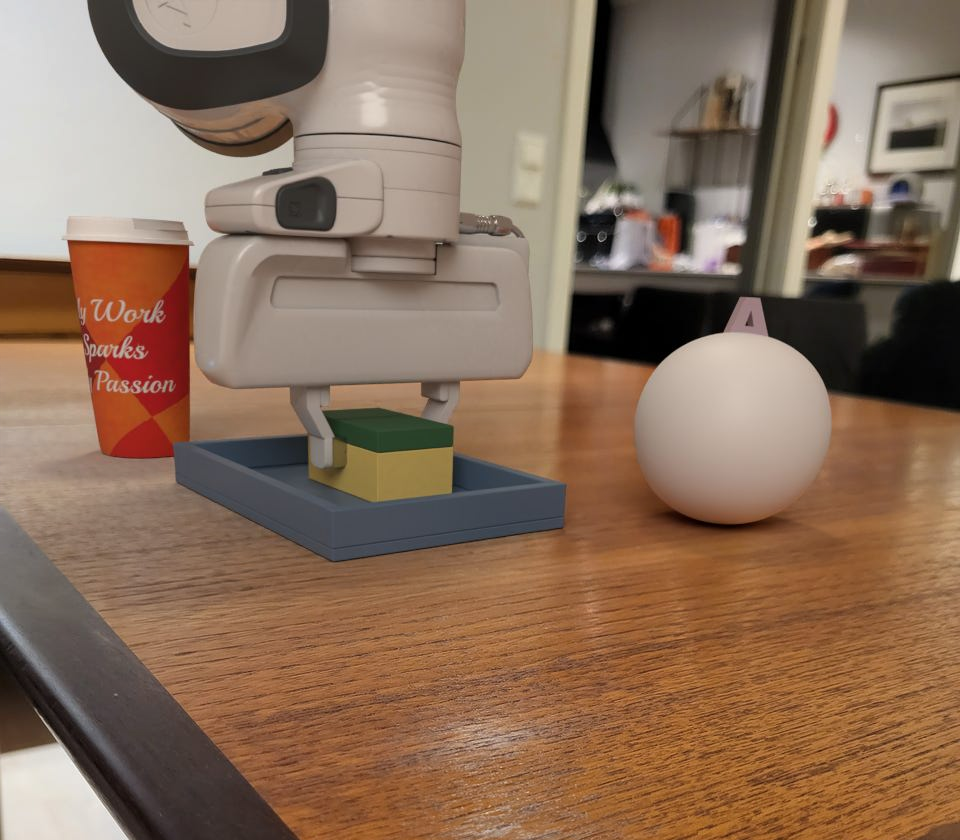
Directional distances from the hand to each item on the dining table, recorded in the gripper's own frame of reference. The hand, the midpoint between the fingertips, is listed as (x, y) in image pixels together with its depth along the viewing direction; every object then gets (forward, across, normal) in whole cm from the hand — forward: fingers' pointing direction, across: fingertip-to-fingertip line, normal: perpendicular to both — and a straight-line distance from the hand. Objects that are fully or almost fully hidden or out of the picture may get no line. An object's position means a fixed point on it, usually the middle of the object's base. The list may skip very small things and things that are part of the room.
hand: (376, 462), depth 58 cm
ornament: (+2, -14, +14) cm, 20 cm away
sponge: (+1, 0, 0) cm, 1 cm away
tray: (+2, +2, +1) cm, 3 cm away
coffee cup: (+2, +7, -20) cm, 21 cm away
